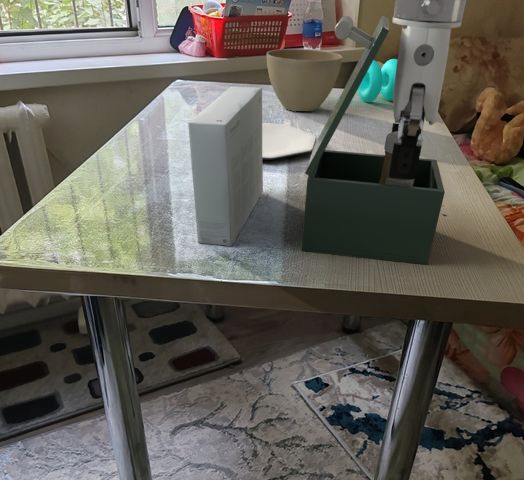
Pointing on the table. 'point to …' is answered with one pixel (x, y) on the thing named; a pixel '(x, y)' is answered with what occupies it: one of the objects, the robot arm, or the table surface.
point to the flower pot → (302, 76)
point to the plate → (285, 141)
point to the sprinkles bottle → (385, 177)
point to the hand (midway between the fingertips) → (400, 165)
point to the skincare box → (226, 163)
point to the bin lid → (372, 47)
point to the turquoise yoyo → (378, 81)
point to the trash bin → (370, 209)
